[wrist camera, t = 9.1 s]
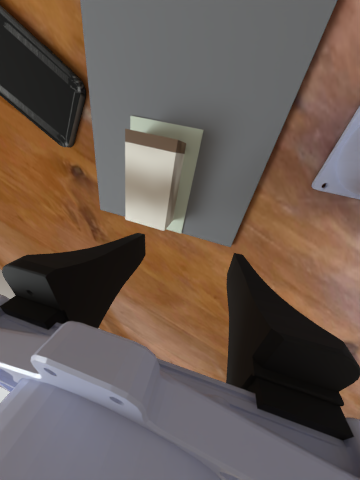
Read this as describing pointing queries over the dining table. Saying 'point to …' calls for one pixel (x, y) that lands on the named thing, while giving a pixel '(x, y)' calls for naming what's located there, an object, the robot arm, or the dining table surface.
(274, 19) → the mat
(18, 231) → the dining table surface
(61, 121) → the phone
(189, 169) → the pad
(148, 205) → the card box
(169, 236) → the dining table surface
